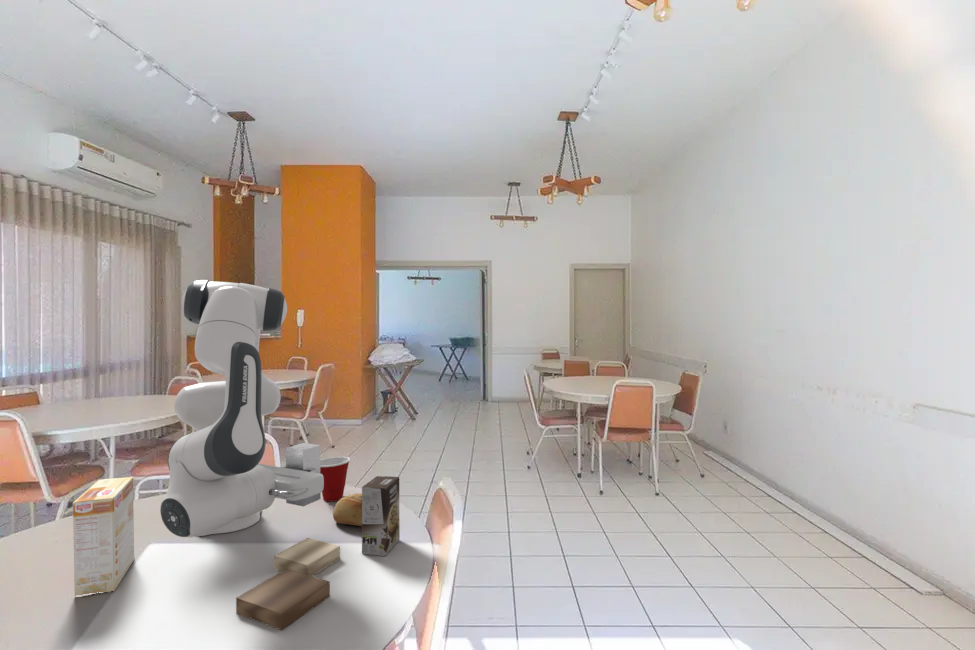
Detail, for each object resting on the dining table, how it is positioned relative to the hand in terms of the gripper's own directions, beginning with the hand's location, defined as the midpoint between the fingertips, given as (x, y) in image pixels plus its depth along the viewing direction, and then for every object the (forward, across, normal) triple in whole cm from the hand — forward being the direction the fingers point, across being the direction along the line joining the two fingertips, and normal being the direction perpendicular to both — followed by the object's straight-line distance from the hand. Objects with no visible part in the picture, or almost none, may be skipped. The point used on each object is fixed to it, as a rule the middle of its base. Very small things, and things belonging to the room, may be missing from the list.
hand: (306, 470), depth 110 cm
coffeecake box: (-20, +37, +22) cm, 48 cm away
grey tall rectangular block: (-1, 0, +6) cm, 7 cm away
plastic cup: (+37, +26, +22) cm, 50 cm away
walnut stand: (-12, -6, +22) cm, 26 cm away
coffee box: (+16, -8, +22) cm, 29 cm away
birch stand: (+2, +2, +22) cm, 23 cm away
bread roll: (+25, +6, +22) cm, 34 cm away
